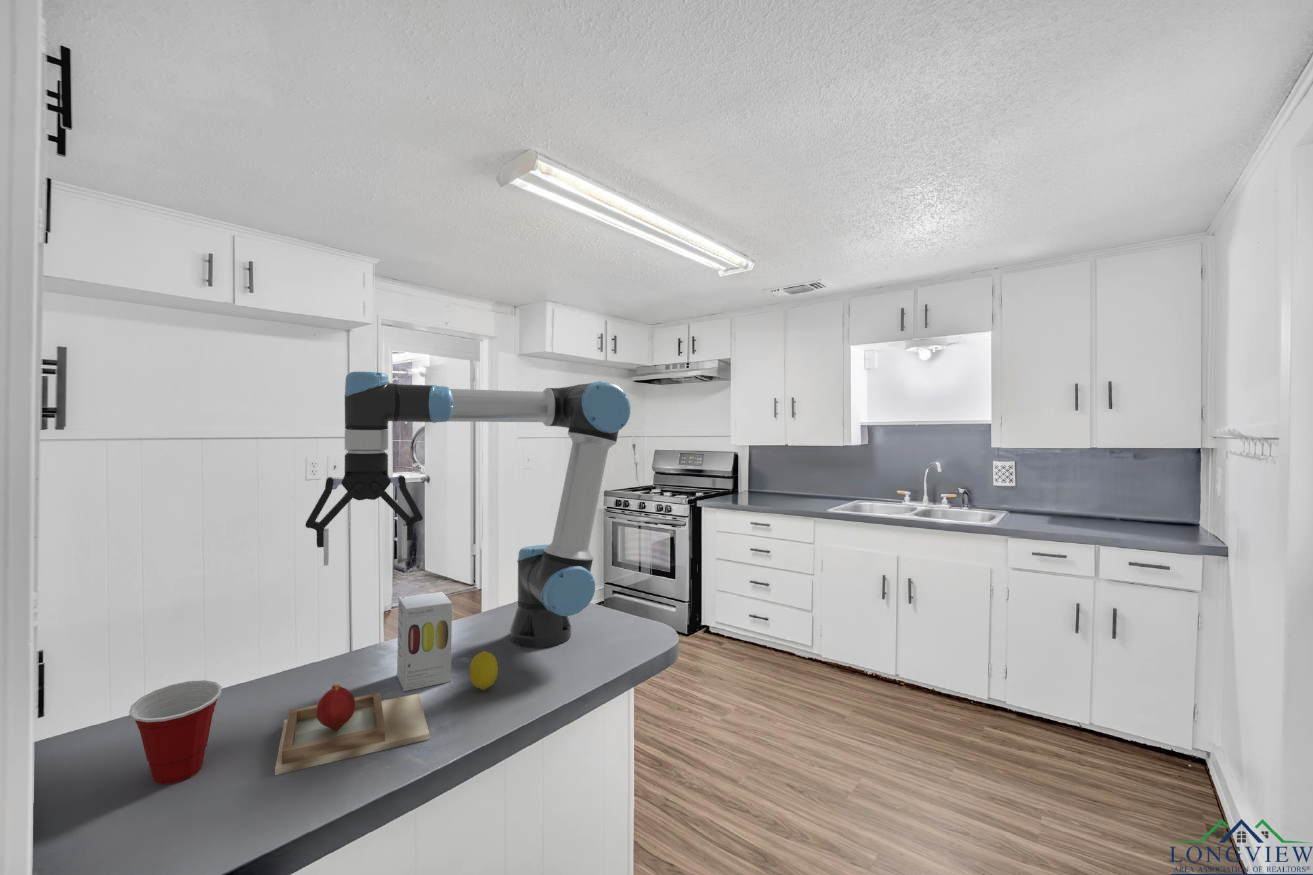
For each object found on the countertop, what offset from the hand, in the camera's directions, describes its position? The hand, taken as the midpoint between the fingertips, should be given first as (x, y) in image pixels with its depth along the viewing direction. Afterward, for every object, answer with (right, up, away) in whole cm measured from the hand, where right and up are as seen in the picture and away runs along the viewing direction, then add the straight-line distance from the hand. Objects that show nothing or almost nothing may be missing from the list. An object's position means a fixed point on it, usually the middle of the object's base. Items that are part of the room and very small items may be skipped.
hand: (366, 560), depth 112 cm
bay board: (+4, -27, -12) cm, 30 cm away
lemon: (+22, -27, +4) cm, 35 cm away
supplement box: (+8, -27, +9) cm, 29 cm away
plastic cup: (-16, -27, -25) cm, 40 cm away
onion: (+2, -26, -14) cm, 30 cm away
